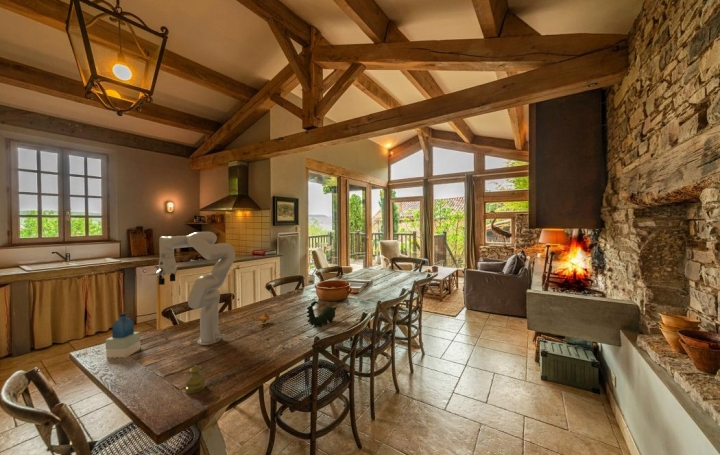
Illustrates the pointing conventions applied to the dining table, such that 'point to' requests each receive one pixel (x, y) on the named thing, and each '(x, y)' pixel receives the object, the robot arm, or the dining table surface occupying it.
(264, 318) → the magic lamp
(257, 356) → the dining table surface
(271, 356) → the dining table surface
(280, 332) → the dining table surface
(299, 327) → the dining table surface
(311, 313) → the toy figurine
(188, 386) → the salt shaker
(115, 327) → the perfume bottle
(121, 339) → the top block
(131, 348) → the bottom block
